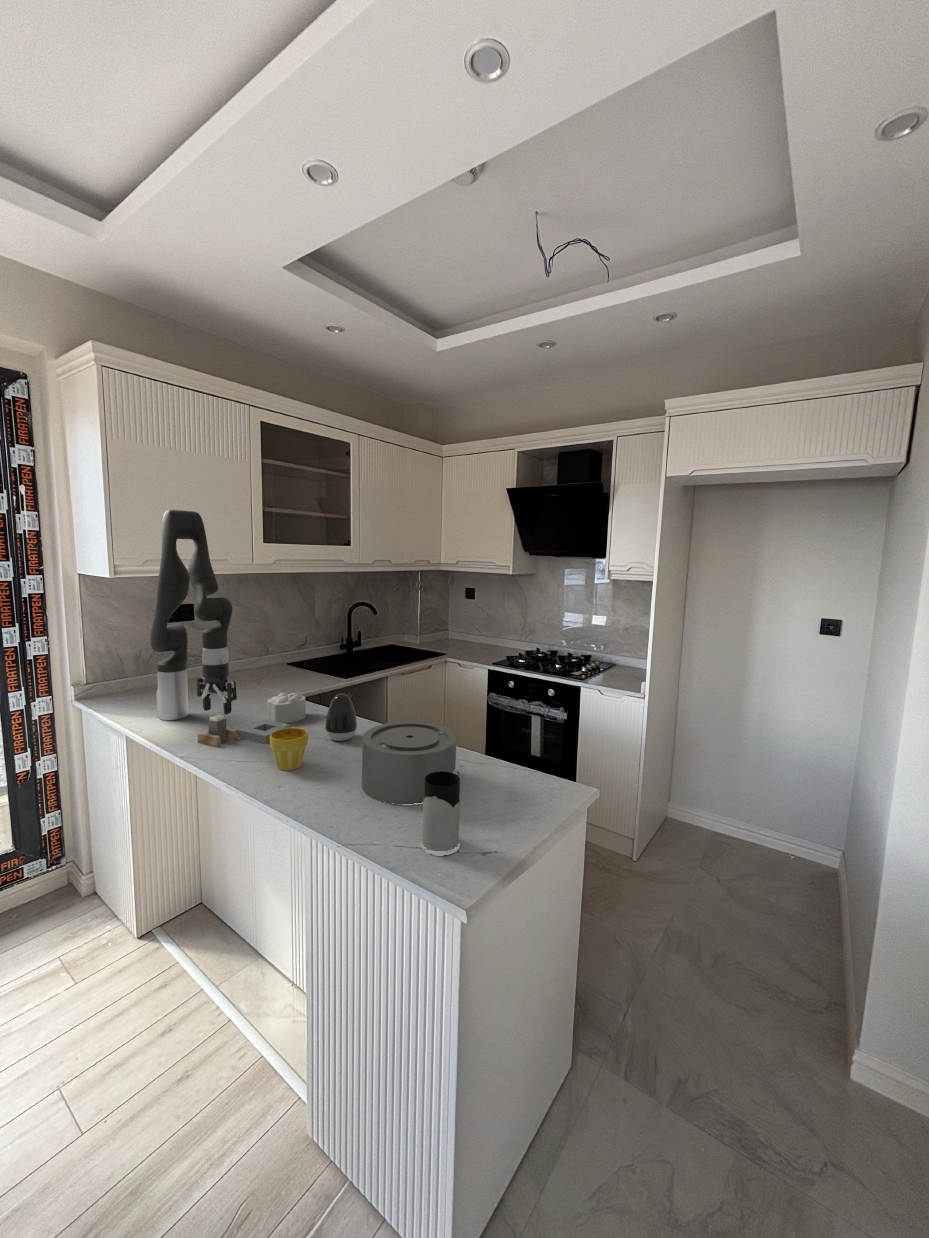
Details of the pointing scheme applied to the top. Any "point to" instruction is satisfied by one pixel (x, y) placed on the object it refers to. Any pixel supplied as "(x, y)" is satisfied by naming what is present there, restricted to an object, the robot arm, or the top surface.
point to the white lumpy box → (286, 708)
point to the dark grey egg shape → (341, 718)
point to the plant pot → (289, 747)
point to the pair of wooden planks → (216, 737)
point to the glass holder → (441, 811)
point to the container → (405, 759)
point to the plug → (217, 726)
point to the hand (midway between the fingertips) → (217, 711)
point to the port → (260, 730)
